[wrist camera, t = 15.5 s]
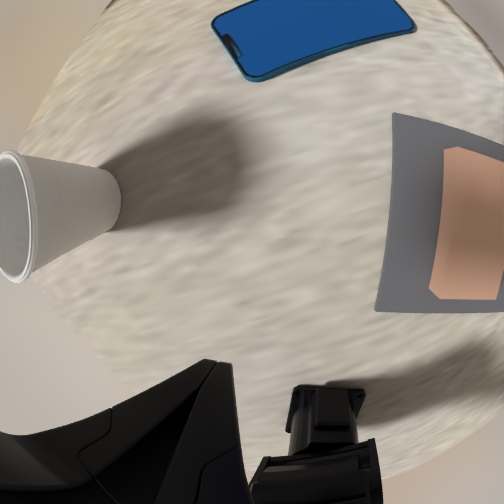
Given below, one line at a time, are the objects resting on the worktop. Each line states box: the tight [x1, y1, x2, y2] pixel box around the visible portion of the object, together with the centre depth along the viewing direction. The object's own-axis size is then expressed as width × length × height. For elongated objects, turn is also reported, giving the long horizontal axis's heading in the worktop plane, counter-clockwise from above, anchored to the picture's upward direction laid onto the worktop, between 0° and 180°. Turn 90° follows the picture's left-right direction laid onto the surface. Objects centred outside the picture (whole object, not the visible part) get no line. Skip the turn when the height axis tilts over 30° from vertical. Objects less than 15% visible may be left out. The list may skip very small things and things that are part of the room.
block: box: [429, 147, 504, 300], centre depth 14 cm, size 10×2×6 cm
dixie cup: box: [0, 150, 121, 283], centre depth 16 cm, size 8×8×10 cm
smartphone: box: [211, 0, 415, 82], centre depth 14 cm, size 7×1×15 cm
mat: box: [375, 113, 504, 313], centre depth 15 cm, size 14×14×1 cm
